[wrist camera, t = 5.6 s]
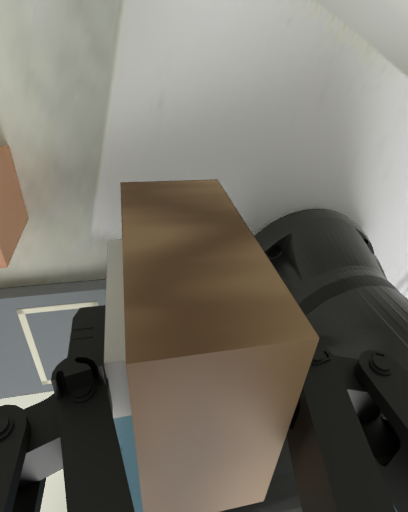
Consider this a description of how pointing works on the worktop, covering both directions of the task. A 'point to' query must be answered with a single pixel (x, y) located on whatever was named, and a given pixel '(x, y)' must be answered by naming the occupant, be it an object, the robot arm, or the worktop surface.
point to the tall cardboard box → (205, 348)
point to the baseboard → (39, 331)
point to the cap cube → (10, 208)
